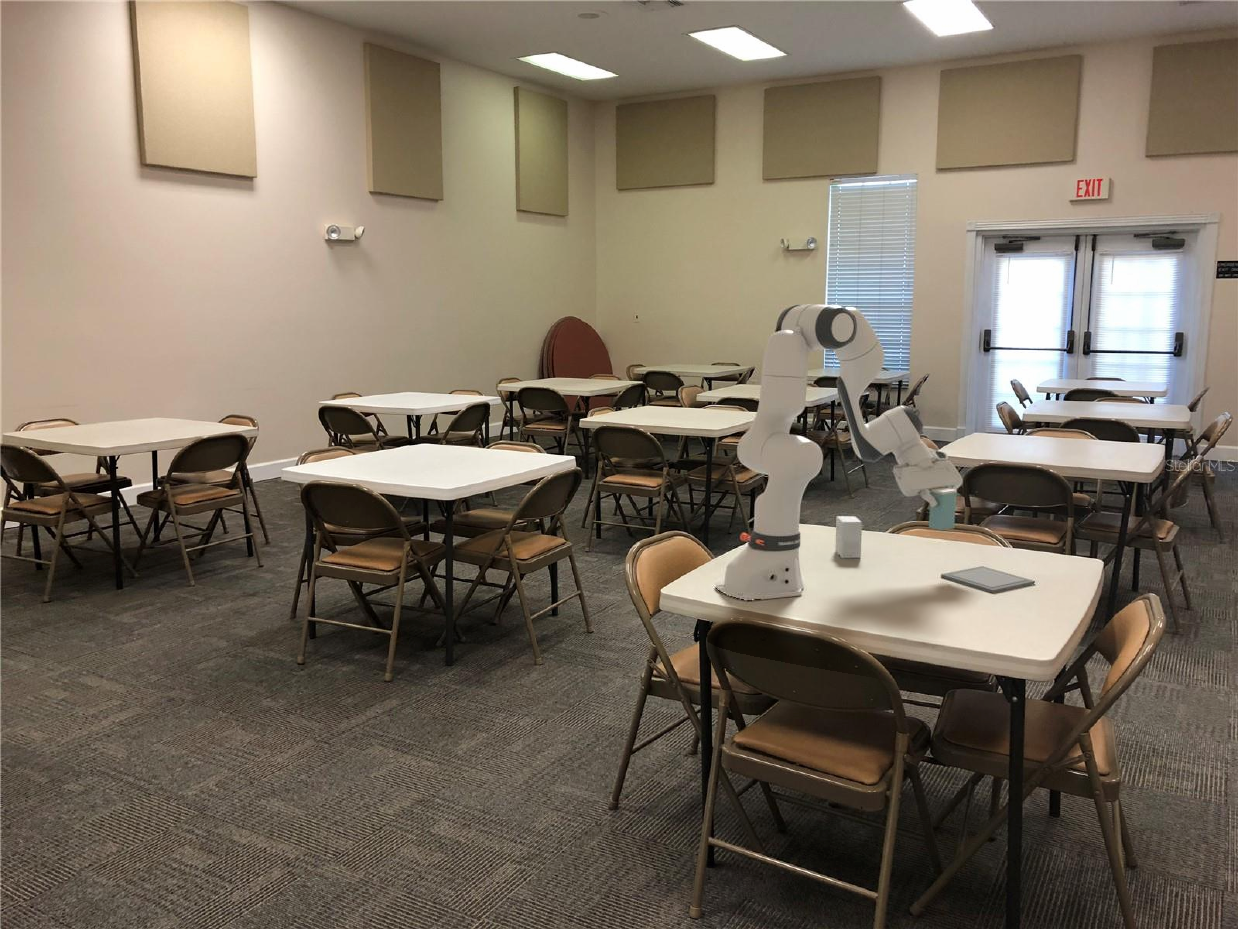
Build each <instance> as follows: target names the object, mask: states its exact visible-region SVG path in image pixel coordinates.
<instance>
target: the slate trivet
mask: <svg viewBox="0 0 1238 929" xmlns="http://www.w3.org/2000/svg"><path fill="white" fill-rule="evenodd" d="M940 578H942V579H945V580H949V581H952V582H954V583H959V584H962V585H965V586H968V587H971V588H975V589H977V590H981V589H982V590H981V591H984V590H985V591H984V592H987V593H990V592H992V593H991V594H995V593H994V592H997V593H1000V591H1001V592H1005V591H1004V590H1006V591H1008V590H1007V589H1010V590H1014V588H1015V589H1019V588H1022V587H1021V586H1024V587H1026V586H1025V585H1028V586H1032V585H1031V584H1033V585H1035V584H1036V580H1033V579H1030V578H1025V577H1021V576H1018V575H1015V574H1012V573H1007V572H1004V571H1000V570H996V569H994V568H990V567H987V566H977V567H971V568H966V569H962V570H955V571H952V572H951V571H950V572H945V573H942V574H940ZM1034 583H1035V584H1034ZM1018 587H1019V588H1018Z"/></svg>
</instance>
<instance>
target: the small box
mask: <svg viewBox="0 0 1238 929" xmlns="http://www.w3.org/2000/svg"><path fill="white" fill-rule="evenodd" d="M835 519H836V520H835V522H836V523H835V545H834V546H835V547H834V548H835V550H834V551H835V552H836V554H837V555H838V556H839V555H840V556H839V557H840V558H841V559H854V558H855V559H859V558H860V559H861V558H862V534H863V532H862V531H863V530H862V529H863V522H862V521H861V520H860V519H859V518H858V517H856V516H847V515H846V516H845V515H844V516H839V515H838V516H837V515H836V517H835Z"/></svg>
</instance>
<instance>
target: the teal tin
mask: <svg viewBox="0 0 1238 929" xmlns="http://www.w3.org/2000/svg"><path fill="white" fill-rule="evenodd" d="M930 492H931V493H930V494H931V495H932V496H933V497H934V498H937V499H938V501H939V502H940V504H939V505H938V506H937V507H932V506H931V505H930V504H929V520H928V528H930V529H933V530H938V531H946V530H951V529H955V521H956V520H955V519H956V504H957V501H956V500H957V492H958V489H956V490H954V489H949V488H937V489H930Z"/></svg>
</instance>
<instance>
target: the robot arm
mask: <svg viewBox="0 0 1238 929" xmlns="http://www.w3.org/2000/svg"><path fill="white" fill-rule="evenodd" d="M814 350H815V351H819V350H830V351H832V350H833V351H834V353H835V356H836V358H837V359H838V361H839V366H840V370H839V375H838V377H837V379H836V381H835V382H836V390H837V394H838V398H839V402H840V405H841V408H842V411H843V414H844V417H845V421H846V424H847V428H848V431H849V434H850V436H849V437H850V440H851V446H852V449H853V451H854V453H855V454H856V456H857V457H858V458H859V459H860V460H862V461H863V462H864V461H865V462H869V463H876V462H877V461H879V460H881V458H883V457H885V456H887V455H888V454H890V453H892V454H893V455H894V457H895V460H896V463H897V464H894V466H893V467H892V473H893V475H894V477H895V482H896V483H897V486H898V488H899V489H900V491H901V493H902V494H903V495H904V496H906V497H907V498H909V497H915V496H916V497H917V496H921V499H923V500H924V501H926V502H928V503H929V506H930V505H931V506H932V507H937V506H938V505H939V504H940V502H939V501H938V499H937V498H934V497H933V496H932V495H931V492H930V489H937V488H949V489H954V490H958V488H960V487H961V486H962V485H963V482H964V481H963V480H964V479H963V477H962V476H961V474H960V471H958V469H957V467H956V466H955V465H954V464H953V463H952V462H951V461H950V460H948V459H949V455H948V454H947V453H946V452H945V451H944V452H943V451H941V450H940V451H939V450H936V449H934V448H929V447H928V445H927V444H926V443H925V442H924V441H923V440H922V439H921V436H922V433H923V430H924V424H923V422H922V421H921V419H920V418H919V417H918V415H917V413H916V412H915V411H914V408H913V407H910V406H907V405H898V406H896V407H894V408H891V409H888V410H886V411H884V412H883V413H881V414H880V416H878V417H875V419H872V420H871V421H869V422H867V423H865V421H864V419H863V418H864V417H863V414H862V410H861V408H860V403H859V402H860V398H861V396H862V395H863V393H864V391H865V390H866V389H867V388H868V387H869V385H870V384H872V382H873V381H874V380H875V379H876V378H877V376H878V375H879V374H880V373H881V371H882V369H883V366H884V364H885V359H886V358H885V357H886V356H885V351H884V348H883V346H882V343H881V341H880V339H879V337H878V336H877V334H876V331H875V329H874V328H873V326H872V325H871V323H870V322H869V320H868V319H867V318H866V316H864V314H863V313H862V312H861V311H860V309H858V308H856V307H854V306H846V307H843V306H840V305H836V304H830V305H828V304H819V303H810V304H809V303H807V304H796V305H792V306H789V307H787V308H785V309H784V310H783V311H782V312H781V313H780V315H779V317H778V319H777V321H776V325H775V330H774V333H772V334H771V335H770V336H769V338H768V340H767V343H766V346H765V350H764V355H763V360H762V367H761V368H762V369H761V379H760V390H759V391H760V392H759V400H758V401H759V402H758V406H757V409H756V415H755V417H754V419H753V422H752V424H751V426H750V428H749V429H748V431H747V432H746V433H744V434H743V435H742V436H741V438H740V440H738V443H737V448H736V455H737V458H738V460H739V462H740V463H741V464H742V465H743V466H744V467H746V468H748V469H749V470H751V471H753V472H755V473H758V474H762V475H767V476H768V481H767V484H766V488H765V490H764V492H762V493H760V495H758V496H757V498H756V499H755V501H754V520H753V521H754V523H753V530H752V531H751V534H748V533H746V532H741V534H740V537H739V538H740V540H741V541H742V542H746V543H747V546H746V547H745V548H744V549H743V550H742V551H741V552H740V553H739V554H737V556H736V557H734V558H733V559H732V560H731V561H729V563H728V564H727V566H726V570H725V573H724V574H725V575H724V580H721V581H719V582H716V583H715V585H716V588H717V589H719V590H720V591H721V592H725V593H726V594H728V595H730V596H733V597H737V598H741V599H746V600H745V601H747V600H752V599H761V600H768V599H778V598H779V599H780V598H787V597H788V598H789V597H795V596H796V597H798V596H802V594H803V592H802V590H804V583H803V579H802V574H801V566H800V565H801V564H800V554H799V553H800V552H799V551H800V547H801V531H800V515H801V503H802V499H803V495H804V493H805V491H806V488H807V486H808V484H809V482H810V481H812V479H814V478H815V477H817V475H818V474H819V473H820V472H821V469H822V466H823V462H824V454H823V451H822V449H821V447H820V446H819V444H818V443H816V442H815V441H813V440H812V439H811V440H810V439H808V438H807V437H805V436H803V435H797V434H792V433H791V434H790V430H791V427H792V426H793V425H792V424H793V423H794V420H795V419H796V417H797V416H799V415H801V414H802V413H803V411H805V408H806V400H807V399H806V398H807V387H808V372H809V370H808V369H809V357H810V355H811V353H812V351H814ZM956 502H957V499H956ZM716 588H715V589H716ZM717 589H716V590H717ZM721 592H720V593H721ZM728 595H727V596H728ZM730 596H729V597H730ZM733 597H732V598H733ZM741 599H740V600H741ZM752 601H753V600H752Z"/></svg>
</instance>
